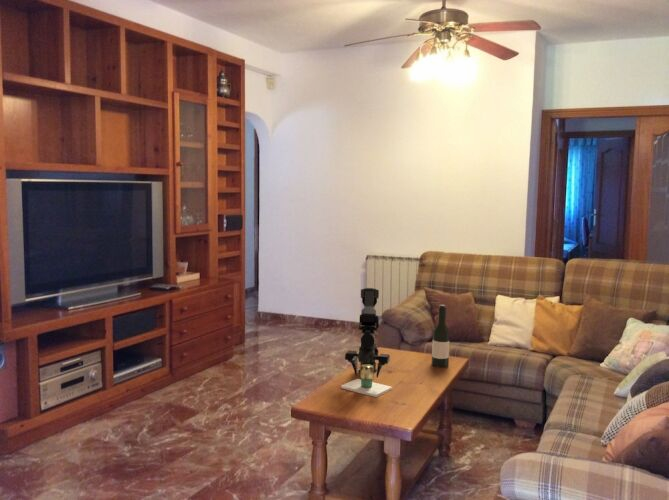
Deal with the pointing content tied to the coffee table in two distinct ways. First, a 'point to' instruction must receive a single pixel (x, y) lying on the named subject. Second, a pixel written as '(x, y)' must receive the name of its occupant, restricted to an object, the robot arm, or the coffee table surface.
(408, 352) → the coffee table surface
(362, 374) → the cap
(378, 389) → the neck block
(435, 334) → the wine bottle
